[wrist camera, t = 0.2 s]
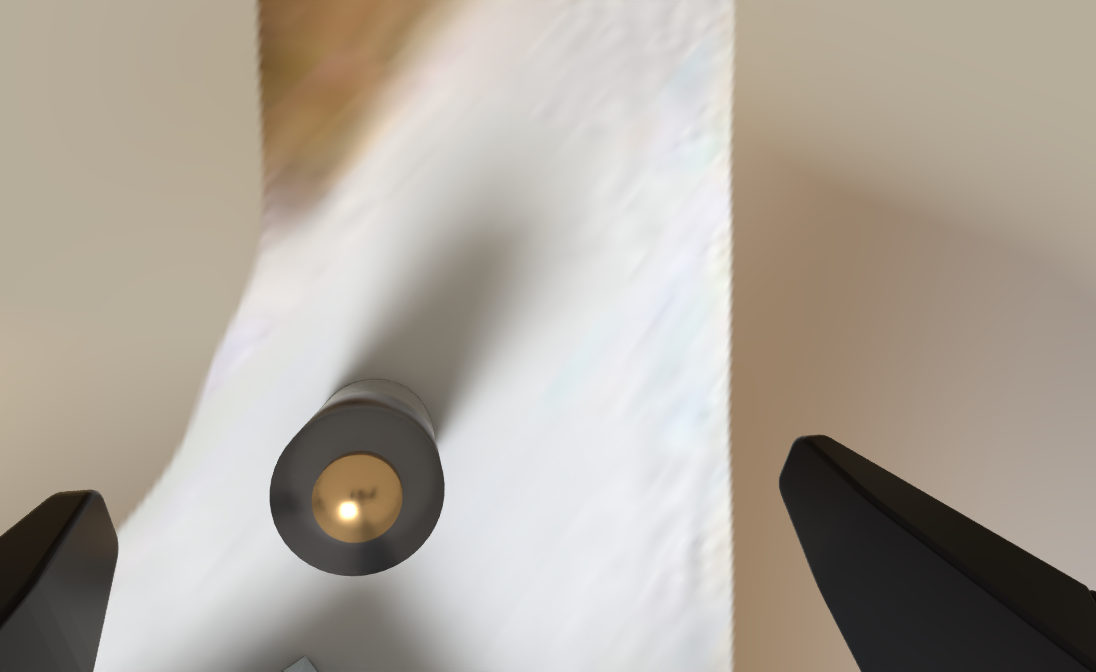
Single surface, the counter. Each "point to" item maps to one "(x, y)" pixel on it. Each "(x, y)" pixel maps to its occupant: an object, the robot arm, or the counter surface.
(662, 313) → the counter surface
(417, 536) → the cell
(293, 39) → the counter surface
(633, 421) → the counter surface
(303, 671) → the box
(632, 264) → the counter surface
